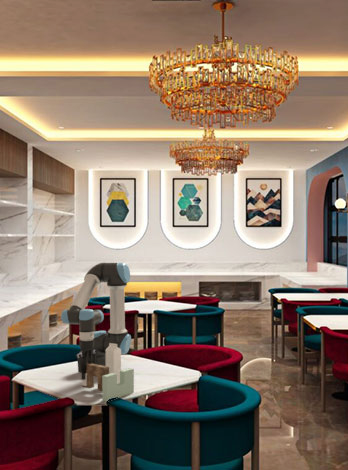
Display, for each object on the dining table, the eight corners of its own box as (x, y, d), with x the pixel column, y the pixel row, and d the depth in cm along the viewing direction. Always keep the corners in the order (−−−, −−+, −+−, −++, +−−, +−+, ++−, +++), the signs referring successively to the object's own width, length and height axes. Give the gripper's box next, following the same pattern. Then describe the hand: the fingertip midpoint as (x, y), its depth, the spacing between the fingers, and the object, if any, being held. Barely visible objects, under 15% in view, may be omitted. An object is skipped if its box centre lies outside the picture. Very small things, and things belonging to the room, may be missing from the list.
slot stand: (106, 401, 262) (106, 376, 262) (102, 400, 263) (102, 375, 264) (133, 392, 278) (133, 368, 278) (129, 391, 280) (129, 368, 280)
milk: (113, 382, 298) (113, 342, 299) (121, 384, 295) (121, 343, 295) (105, 384, 293) (105, 343, 294) (113, 386, 290) (113, 344, 290)
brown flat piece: (82, 386, 281) (82, 363, 281) (86, 385, 284) (86, 362, 284) (105, 391, 272) (104, 367, 272) (109, 390, 274) (109, 366, 274)
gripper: (80, 342, 272) (81, 389, 273) (102, 337, 286) (103, 382, 286) (70, 341, 277) (70, 387, 277) (92, 336, 290) (93, 380, 290)
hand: (87, 384), depth 281 cm, fingers closed on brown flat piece, 3 cm apart
